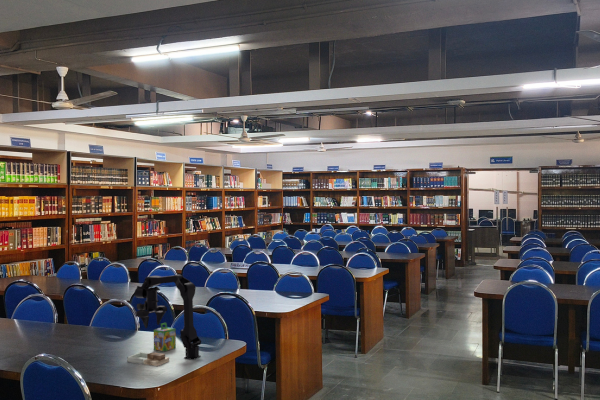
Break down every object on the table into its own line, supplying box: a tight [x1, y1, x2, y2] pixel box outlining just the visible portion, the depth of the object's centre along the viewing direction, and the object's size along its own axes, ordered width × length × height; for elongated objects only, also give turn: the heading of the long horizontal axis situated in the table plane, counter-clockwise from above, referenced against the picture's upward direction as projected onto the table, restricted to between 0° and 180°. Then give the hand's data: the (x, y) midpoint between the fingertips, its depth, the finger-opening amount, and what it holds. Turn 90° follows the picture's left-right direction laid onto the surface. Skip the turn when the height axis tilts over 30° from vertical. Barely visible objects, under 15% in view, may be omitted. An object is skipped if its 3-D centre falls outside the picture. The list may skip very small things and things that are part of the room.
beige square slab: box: [143, 356, 170, 367], centre depth 272 cm, size 9×9×2 cm
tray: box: [126, 351, 149, 365], centre depth 277 cm, size 10×10×2 cm
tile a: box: [154, 352, 166, 361], centre depth 271 cm, size 4×4×2 cm
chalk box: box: [153, 322, 177, 352], centre depth 299 cm, size 9×9×15 cm
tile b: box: [147, 351, 159, 360], centre depth 273 cm, size 4×4×2 cm
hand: (152, 326), depth 293 cm, fingers open, 9 cm apart
